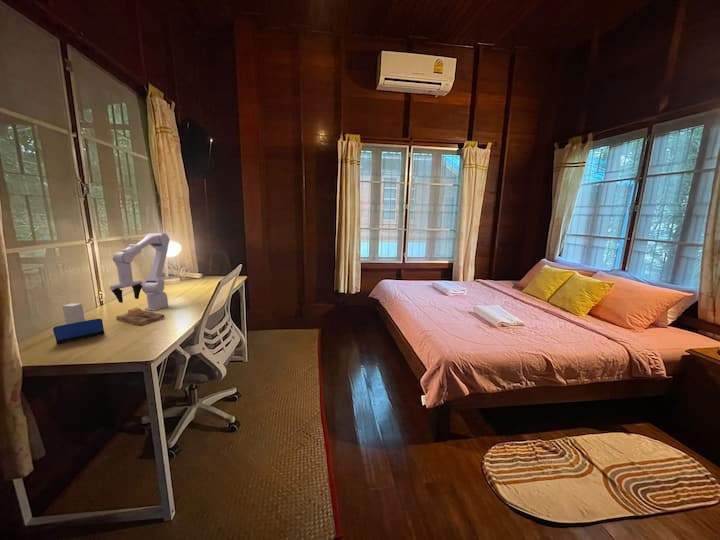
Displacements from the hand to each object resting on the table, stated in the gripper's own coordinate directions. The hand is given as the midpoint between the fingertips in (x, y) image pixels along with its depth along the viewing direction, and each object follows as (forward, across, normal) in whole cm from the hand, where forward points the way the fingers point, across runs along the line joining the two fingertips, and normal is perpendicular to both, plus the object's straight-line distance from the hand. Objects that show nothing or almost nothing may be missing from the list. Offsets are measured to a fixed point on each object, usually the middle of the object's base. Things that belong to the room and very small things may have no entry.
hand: (129, 300), depth 159 cm
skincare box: (+10, +20, -7) cm, 24 cm away
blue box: (+10, +25, +8) cm, 28 cm away
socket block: (+9, 0, +7) cm, 12 cm away
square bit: (+10, -1, +3) cm, 10 cm away
